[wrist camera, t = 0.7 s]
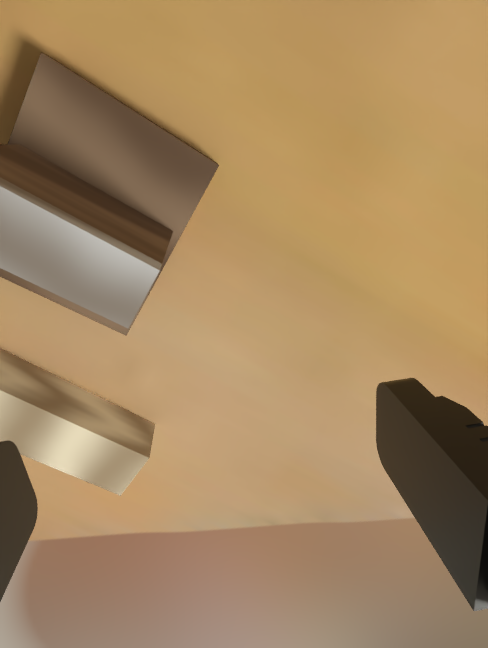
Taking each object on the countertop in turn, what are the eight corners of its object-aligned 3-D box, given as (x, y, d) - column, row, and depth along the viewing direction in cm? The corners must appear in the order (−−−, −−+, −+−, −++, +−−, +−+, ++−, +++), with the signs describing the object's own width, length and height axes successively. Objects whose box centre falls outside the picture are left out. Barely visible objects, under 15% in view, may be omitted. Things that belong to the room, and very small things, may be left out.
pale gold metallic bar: (-81, 361, 28) (-123, 394, 24) (-59, 316, 27) (-100, 344, 23) (129, 456, 33) (120, 495, 29) (155, 421, 32) (149, 458, 28)
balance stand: (51, 58, 21) (-52, 3, 13) (218, 164, 24) (225, 177, 16) (-22, 253, 25) (-141, 313, 16) (130, 326, 28) (97, 409, 19)
